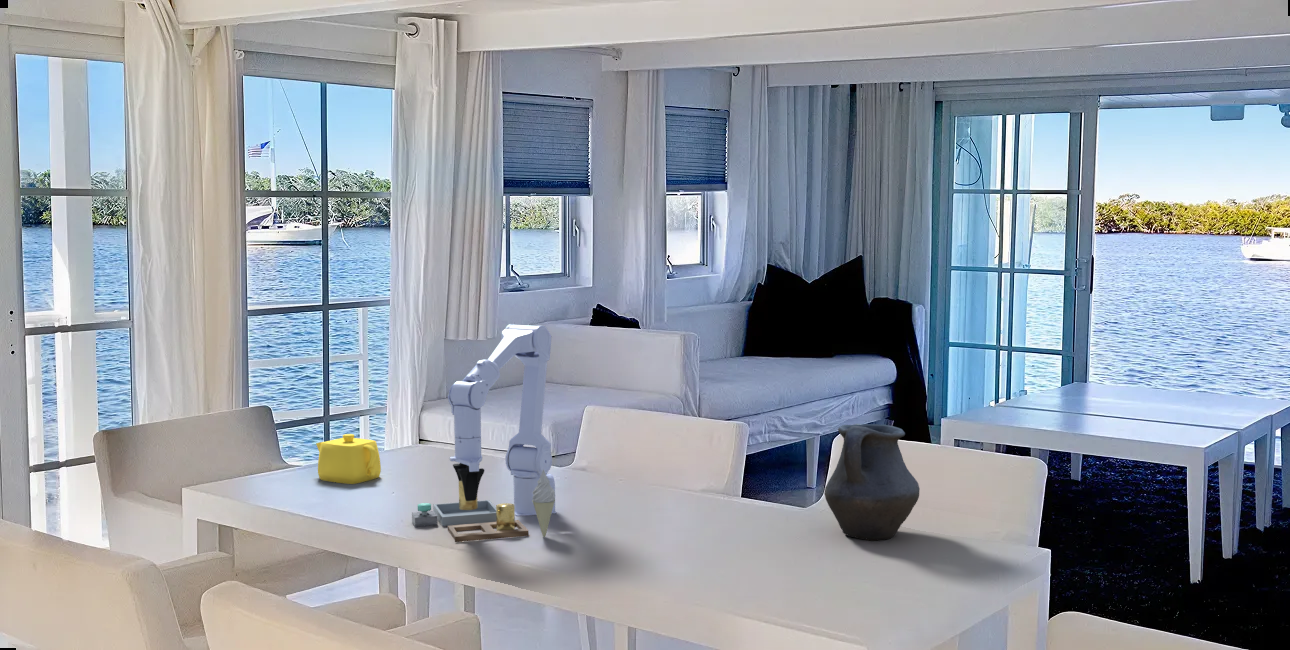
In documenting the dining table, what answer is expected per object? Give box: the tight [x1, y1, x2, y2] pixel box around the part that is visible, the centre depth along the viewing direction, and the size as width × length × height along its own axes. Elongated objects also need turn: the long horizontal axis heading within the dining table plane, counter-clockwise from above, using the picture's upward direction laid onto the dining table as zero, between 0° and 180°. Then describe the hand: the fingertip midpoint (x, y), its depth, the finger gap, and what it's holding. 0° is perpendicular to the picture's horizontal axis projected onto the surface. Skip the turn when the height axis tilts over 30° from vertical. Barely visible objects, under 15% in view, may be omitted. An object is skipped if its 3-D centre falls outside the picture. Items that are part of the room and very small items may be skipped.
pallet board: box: [447, 519, 530, 543], centre depth 284 cm, size 16×10×1 cm, turn 108°
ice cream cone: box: [532, 469, 556, 538], centre depth 280 cm, size 5×5×15 cm
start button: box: [417, 502, 432, 516], centre depth 291 cm, size 3×3×4 cm
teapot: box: [315, 433, 382, 485], centre depth 342 cm, size 20×12×12 cm, turn 59°
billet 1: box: [458, 480, 479, 510], centre depth 282 cm, size 4×4×6 cm
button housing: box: [411, 510, 439, 528], centre depth 291 cm, size 5×5×2 cm
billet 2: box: [495, 502, 516, 531], centre depth 285 cm, size 4×4×6 cm
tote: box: [432, 499, 496, 527], centre depth 297 cm, size 13×13×2 cm
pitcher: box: [823, 423, 920, 542], centre depth 279 cm, size 21×22×25 cm
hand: (468, 498), depth 282 cm, fingers closed on billet 1, 4 cm apart
